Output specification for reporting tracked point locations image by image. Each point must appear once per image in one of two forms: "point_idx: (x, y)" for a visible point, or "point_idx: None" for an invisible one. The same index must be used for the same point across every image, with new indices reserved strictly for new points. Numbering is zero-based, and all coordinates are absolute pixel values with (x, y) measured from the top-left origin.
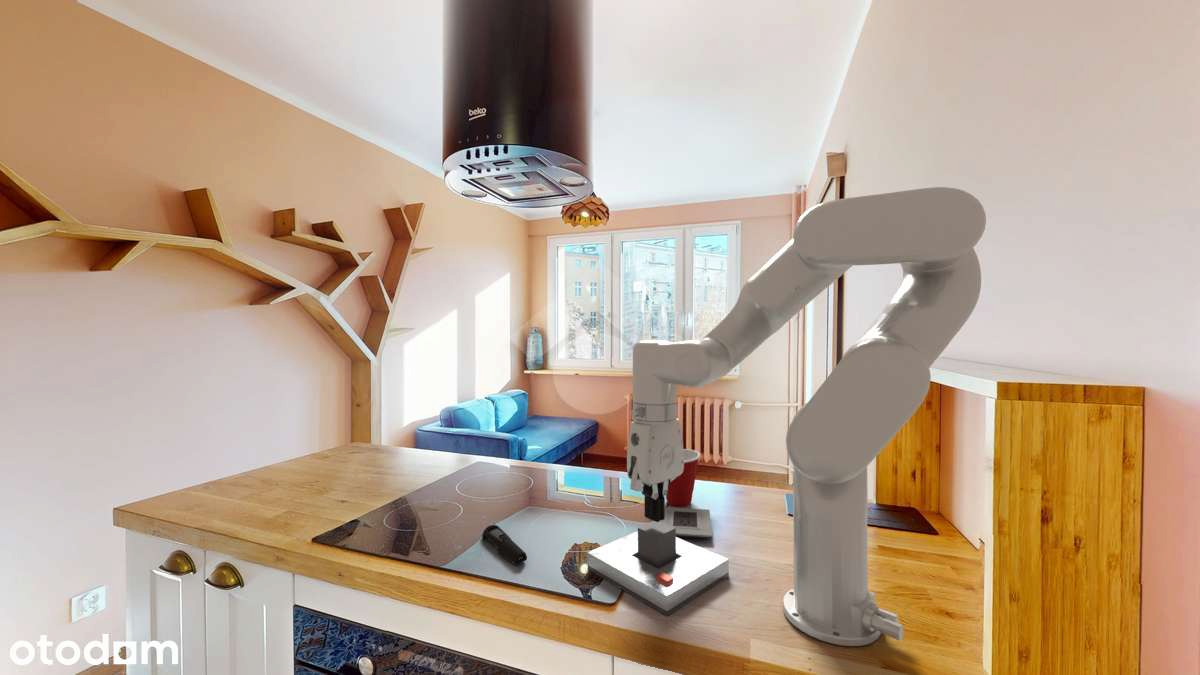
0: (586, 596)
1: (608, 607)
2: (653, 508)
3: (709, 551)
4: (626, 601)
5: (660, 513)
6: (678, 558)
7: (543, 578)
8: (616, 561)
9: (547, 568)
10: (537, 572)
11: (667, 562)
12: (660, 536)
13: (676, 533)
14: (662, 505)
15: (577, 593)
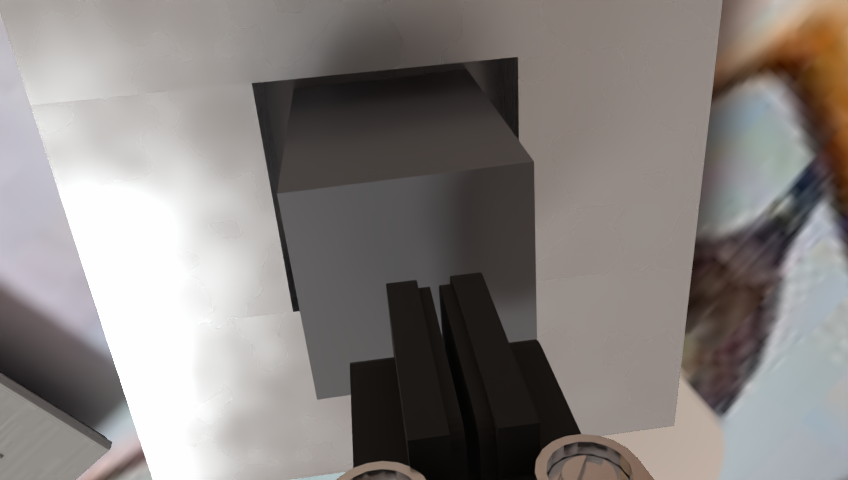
0: (810, 192)
1: (817, 55)
2: (534, 384)
3: (6, 2)
4: (719, 39)
5: (451, 319)
6: (302, 74)
7: (819, 404)
8: (637, 274)
9: (751, 457)
10: (800, 451)
11: (386, 98)
12: (499, 162)
13: (5, 384)
14: (433, 369)
15: (817, 235)
